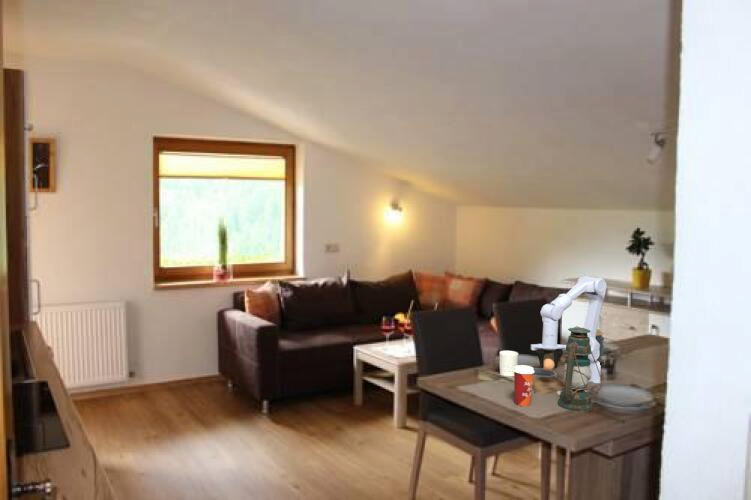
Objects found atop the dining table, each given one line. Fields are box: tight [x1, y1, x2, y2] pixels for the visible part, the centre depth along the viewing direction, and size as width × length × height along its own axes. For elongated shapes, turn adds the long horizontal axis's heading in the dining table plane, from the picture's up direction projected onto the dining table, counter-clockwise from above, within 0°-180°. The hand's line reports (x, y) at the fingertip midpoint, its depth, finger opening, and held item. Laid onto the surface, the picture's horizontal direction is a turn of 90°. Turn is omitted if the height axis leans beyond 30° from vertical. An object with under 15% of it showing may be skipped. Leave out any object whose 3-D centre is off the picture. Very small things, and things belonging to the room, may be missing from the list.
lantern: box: [557, 325, 603, 412], centre depth 245 cm, size 19×14×30 cm
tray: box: [532, 376, 565, 395], centre depth 267 cm, size 14×14×2 cm
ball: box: [543, 358, 555, 371], centre depth 267 cm, size 5×5×5 cm
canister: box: [595, 328, 605, 357], centre depth 308 cm, size 13×13×18 cm
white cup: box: [499, 350, 519, 377], centre depth 284 cm, size 8×8×10 cm
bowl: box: [533, 367, 558, 378], centre depth 280 cm, size 13×13×3 cm
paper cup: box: [513, 364, 535, 407], centre depth 247 cm, size 8×8×14 cm
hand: (548, 367), depth 267 cm, fingers closed on ball, 5 cm apart
